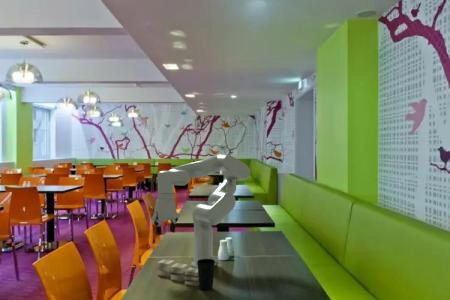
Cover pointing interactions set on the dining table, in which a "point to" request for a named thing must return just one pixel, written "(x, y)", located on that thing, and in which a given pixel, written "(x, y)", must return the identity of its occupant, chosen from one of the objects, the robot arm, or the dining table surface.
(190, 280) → the banded block two
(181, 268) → the banded block one
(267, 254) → the dining table surface
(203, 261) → the cup
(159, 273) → the plain block
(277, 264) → the dining table surface
